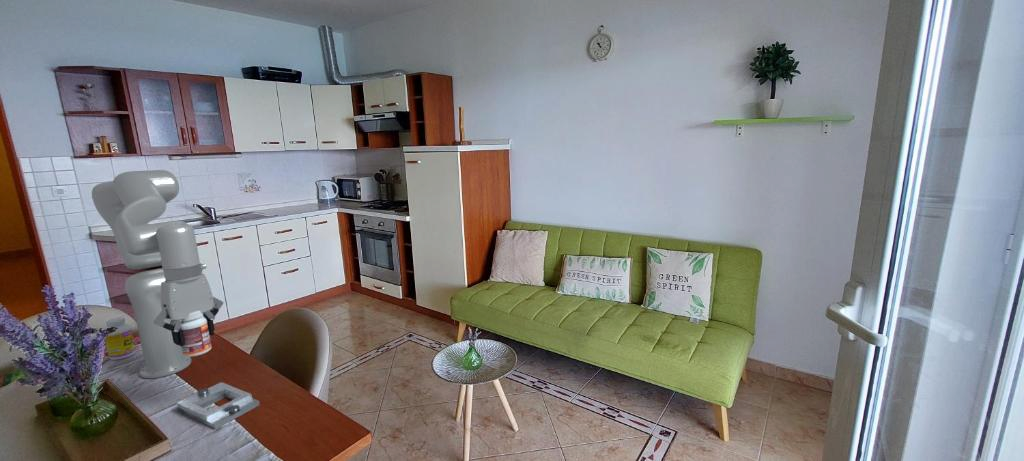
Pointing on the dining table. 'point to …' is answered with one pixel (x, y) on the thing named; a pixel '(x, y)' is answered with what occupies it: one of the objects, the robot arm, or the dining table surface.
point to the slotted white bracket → (222, 414)
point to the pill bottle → (195, 335)
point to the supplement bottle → (119, 339)
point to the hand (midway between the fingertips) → (195, 339)
